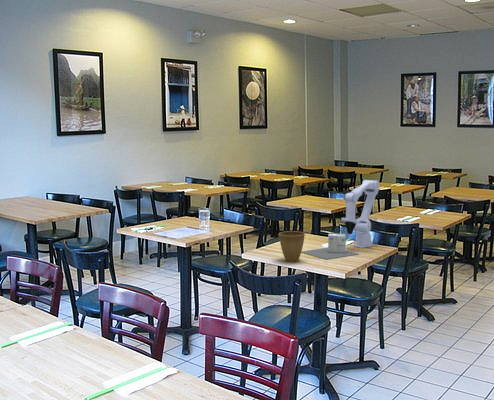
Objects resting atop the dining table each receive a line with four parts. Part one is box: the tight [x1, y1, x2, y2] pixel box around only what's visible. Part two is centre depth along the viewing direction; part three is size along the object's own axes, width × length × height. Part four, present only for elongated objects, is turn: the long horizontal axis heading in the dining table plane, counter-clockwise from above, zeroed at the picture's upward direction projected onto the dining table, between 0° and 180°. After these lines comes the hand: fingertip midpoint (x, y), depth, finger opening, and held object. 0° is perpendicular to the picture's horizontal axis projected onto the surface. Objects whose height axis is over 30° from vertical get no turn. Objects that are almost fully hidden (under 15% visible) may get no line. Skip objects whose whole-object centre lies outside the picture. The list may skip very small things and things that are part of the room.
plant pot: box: [278, 230, 306, 263], centre depth 332 cm, size 15×15×16 cm
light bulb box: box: [327, 233, 347, 253], centre depth 354 cm, size 11×7×11 cm, turn 84°
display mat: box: [301, 247, 360, 261], centre depth 352 cm, size 26×24×1 cm
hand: (349, 233), depth 359 cm, fingers closed
